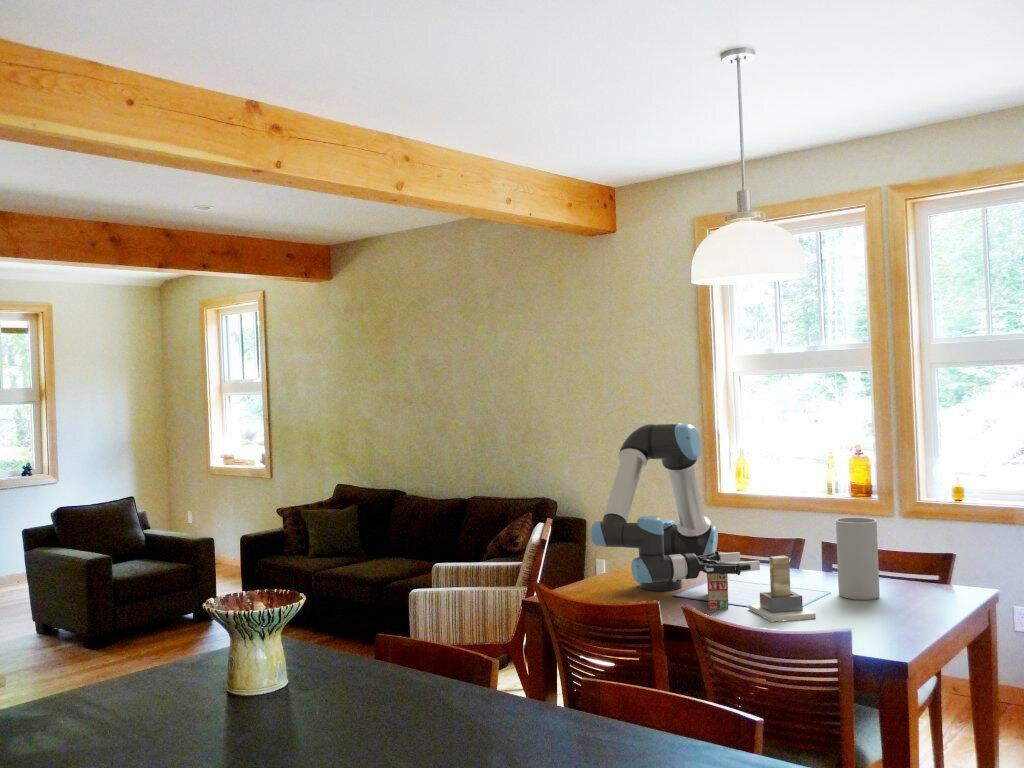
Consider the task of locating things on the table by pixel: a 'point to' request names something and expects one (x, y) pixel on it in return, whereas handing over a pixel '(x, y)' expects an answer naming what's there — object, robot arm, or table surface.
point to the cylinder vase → (857, 558)
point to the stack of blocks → (717, 591)
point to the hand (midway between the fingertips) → (749, 560)
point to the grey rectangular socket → (781, 603)
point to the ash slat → (779, 576)
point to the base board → (782, 614)
